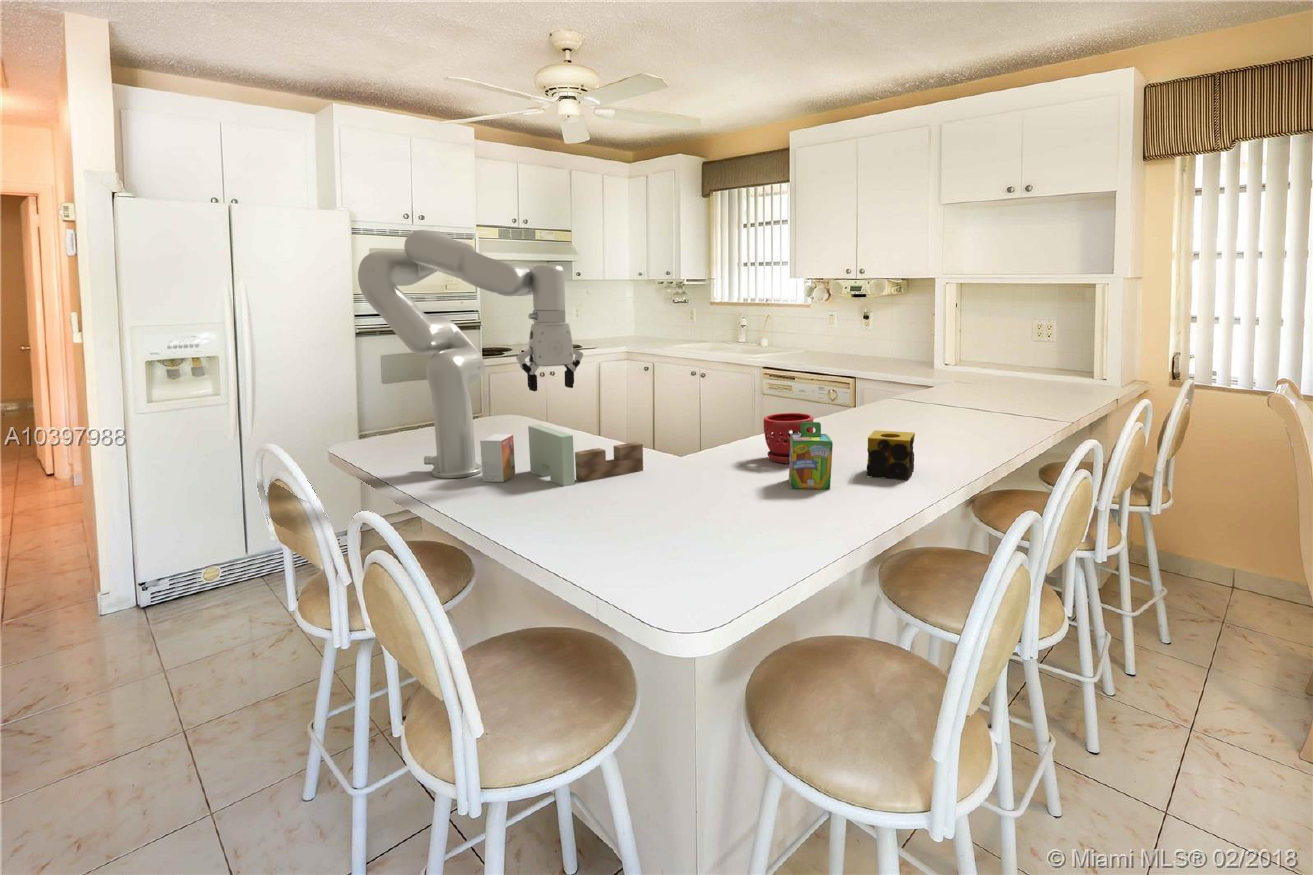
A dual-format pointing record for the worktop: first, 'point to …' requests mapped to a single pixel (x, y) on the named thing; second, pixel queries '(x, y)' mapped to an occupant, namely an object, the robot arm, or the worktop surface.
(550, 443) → the green board
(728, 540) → the worktop surface
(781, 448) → the plant pot
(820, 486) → the chalk box
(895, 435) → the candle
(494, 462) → the small box
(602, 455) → the walnut board
